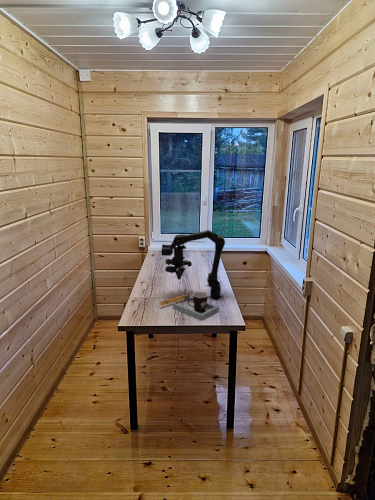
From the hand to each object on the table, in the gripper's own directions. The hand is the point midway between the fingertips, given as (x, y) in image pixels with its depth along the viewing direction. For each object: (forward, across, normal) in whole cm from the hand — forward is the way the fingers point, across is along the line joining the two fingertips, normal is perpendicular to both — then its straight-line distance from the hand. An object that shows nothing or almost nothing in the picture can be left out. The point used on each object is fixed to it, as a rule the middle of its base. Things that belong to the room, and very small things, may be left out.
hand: (179, 279), depth 200 cm
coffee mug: (+12, +8, +21) cm, 26 cm away
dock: (+12, +8, +17) cm, 22 cm away
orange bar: (+10, +9, +5) cm, 15 cm away
